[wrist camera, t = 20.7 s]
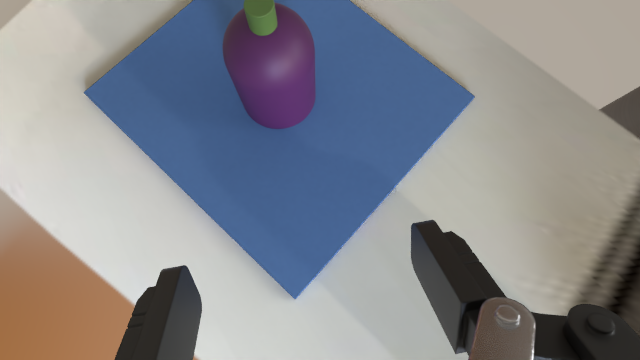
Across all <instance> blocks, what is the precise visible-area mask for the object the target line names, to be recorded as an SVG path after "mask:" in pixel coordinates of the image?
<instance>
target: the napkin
mask: <svg viewBox="0 0 640 360" xmlns="http://www.w3.org/2000/svg"><path fill="white" fill-rule="evenodd" d="M244 1H245V0H193V1H192V2H191V3H190V4H188V5H187V6H186V7H185V8H184V9H182V10H181V11H180V12H179V13H178V14H176V15H175V16H174V17H173V18H172V19H171V20H169V21H168V22H167V23H166V24H165V25H163V26H162V27H161V28H160V29H159V30H157V31H156V32H155V33H154V34H153V35H151V36H150V37H149V38H148V39H147V40H145V41H144V42H143V43H142V44H141V45H140V46H138V47H137V48H136V49H135V50H134V51H132V52H131V53H130V54H129V55H128V56H126V57H125V58H124V59H123V60H122V61H120V62H119V63H118V64H117V65H116V66H115V67H113V68H112V69H111V70H110V71H109V72H107V73H106V74H105V75H104V76H103V77H101V78H100V79H99V80H98V81H97V82H95V83H94V84H93V85H92V86H91V87H89V88H88V89H87V90H86V91H85V92H84V94H85V95H86V96H88V97H89V98H90V99H91V100H92V101H93V102H94V103H95V104H96V105H97V106H98V107H99V108H100V109H101V110H102V111H103V112H104V113H105V114H106V115H107V116H108V117H109V118H110V119H111V120H112V121H113V122H114V123H115V124H116V125H117V126H118V127H119V128H120V129H121V130H122V131H123V132H124V133H125V134H126V135H127V136H128V137H129V138H130V139H131V140H133V141H134V142H135V143H136V144H137V145H138V146H139V147H140V148H141V149H142V150H143V151H144V152H145V153H146V154H147V155H148V156H149V157H150V158H151V159H152V160H153V161H154V162H155V163H156V164H157V165H158V166H159V167H160V168H161V169H162V170H163V171H164V172H165V173H166V174H167V175H168V176H169V177H170V178H171V179H172V180H173V181H174V182H175V183H177V184H178V185H179V186H180V187H181V188H182V189H183V190H184V191H185V192H186V193H187V194H188V195H189V196H190V197H191V198H192V199H193V200H194V201H195V202H196V203H197V204H198V205H199V206H200V207H201V208H202V209H203V210H204V211H205V212H206V213H207V214H208V215H209V216H210V217H211V218H212V219H213V220H214V221H215V222H216V223H217V224H218V225H219V226H220V227H222V228H223V229H224V230H225V231H226V232H227V233H228V234H229V235H230V236H231V237H232V238H233V239H234V240H235V241H236V242H237V243H238V244H239V245H240V246H241V247H242V248H243V249H244V250H245V251H246V252H247V253H248V254H249V255H250V256H251V257H252V258H253V259H254V260H255V261H256V262H257V263H258V264H259V265H260V266H261V267H262V268H263V269H264V270H266V271H267V272H268V273H269V274H270V275H271V276H272V277H273V278H274V279H275V280H276V281H277V282H278V283H279V284H280V285H281V286H282V287H283V288H284V289H285V290H286V291H287V292H288V293H289V294H290V295H291V296H292V297H293V298H294V299H296V298H297V297H298V296H299V295H300V294H301V292H302V291H303V290H304V289H305V288H306V287H307V286H308V285H309V283H310V282H311V281H312V280H313V279H314V278H315V277H316V276H317V274H318V273H319V272H320V271H321V270H322V269H323V268H324V267H325V265H326V264H327V263H328V262H329V261H330V260H331V259H332V258H333V256H334V255H335V254H336V253H337V252H338V251H339V250H340V249H341V247H342V246H343V245H344V244H345V243H346V242H347V241H348V239H349V238H350V237H351V236H352V235H353V234H354V233H355V232H356V230H357V229H358V228H359V227H360V226H361V225H362V224H363V223H364V221H365V220H366V219H367V218H368V217H369V216H370V215H371V214H372V212H373V211H374V210H375V209H376V208H377V207H378V206H379V205H380V203H381V202H382V201H383V200H384V199H385V198H386V197H387V196H388V194H389V193H390V192H391V191H392V190H393V189H394V188H395V187H396V185H397V184H398V183H399V182H400V181H401V180H402V179H403V177H404V176H405V175H406V174H407V173H408V172H409V171H410V170H411V168H412V167H413V166H414V165H415V164H416V163H417V162H418V161H419V159H420V158H421V157H422V156H423V155H424V154H425V153H426V152H427V150H428V149H429V148H430V147H431V146H432V145H433V144H434V143H435V141H436V140H437V139H438V138H439V137H440V136H441V135H442V134H443V132H444V131H445V130H446V129H447V128H448V127H449V126H450V125H451V123H452V122H453V121H454V120H455V119H456V118H457V117H458V116H459V114H460V113H461V112H462V111H463V110H464V109H465V108H466V106H467V105H468V104H469V103H470V102H471V101H472V100H473V99H474V97H475V96H474V95H472V94H471V93H470V92H468V91H467V90H466V89H465V88H463V87H462V86H461V85H459V84H458V83H457V82H455V81H454V80H453V79H451V78H450V77H449V76H448V75H446V74H445V73H444V72H442V71H441V70H440V69H438V68H437V67H436V66H434V65H433V64H432V63H431V62H429V61H428V60H427V59H425V58H424V57H423V56H421V55H420V54H419V53H417V52H416V51H415V50H414V49H412V48H411V47H410V46H408V45H407V44H406V43H404V42H403V41H402V40H400V39H399V38H398V37H397V36H395V35H394V34H393V33H391V32H390V31H389V30H387V29H386V28H385V27H383V26H382V25H381V24H380V23H378V22H377V21H376V20H374V19H373V18H372V17H370V16H369V15H368V14H366V13H365V12H364V11H363V10H361V9H360V8H359V7H357V6H356V5H355V4H353V3H352V2H351V1H350V0H274V2H275V3H279V4H282V5H285V6H287V7H288V8H290V9H292V10H293V11H295V12H296V13H297V14H298V15H299V16H300V17H301V18H302V19H303V20H304V21H305V23H306V24H307V26H308V28H309V29H310V32H311V34H312V37H313V41H314V47H315V89H316V96H315V103H314V106H313V108H312V110H311V112H310V113H309V115H308V116H307V117H306V118H305V119H304V120H303V121H301V122H300V123H298V124H296V125H295V126H292V127H289V128H285V129H272V128H267V127H264V126H262V125H260V124H258V123H256V122H255V121H254V120H253V119H252V118H251V117H250V116H249V115H248V114H247V112H246V110H245V108H244V106H243V104H242V101H241V99H240V97H239V95H238V93H237V90H236V88H235V86H234V84H233V81H232V79H231V77H230V75H229V73H228V70H227V68H226V65H225V62H224V58H223V48H222V46H223V38H224V34H225V31H226V29H227V26H228V24H229V23H230V21H231V20H232V18H233V17H234V16H235V15H236V14H237V13H238V12H239V11H240V10H242V9H243V8H244V7H243V4H244Z"/></svg>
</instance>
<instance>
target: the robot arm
mask: <svg viewBox="0 0 640 360" xmlns="http://www.w3.org/2000/svg"><path fill="white" fill-rule="evenodd" d="M411 259H412V264H413V268H414V271H415V273H416V275H417V277H418V279H419V281H420V283H421V285H422V287H423V289H424V291H425V293H426V295H427V297H428V299H429V301H430V303H431V305H432V307H433V309H434V311H435V313H436V315H437V317H438V319H439V321H440V323H441V325H442V328H443V330H444V332H445V334H446V336H447V338H448V340H449V342H450V344H451V346H452V348H453V350H454V352H455V354H458V353H463V352H467V353H468V355H469V359H468V360H640V337H639V336H638V335H637V334H636V333H635V331H634V330H633V329H632V328H631V327H630V326H629V325H628V324H627V323H626V322H625V321H624V320H623V319H622V318H621V317H619V316H618V315H617V314H615V313H613V312H612V311H610V310H608V309H605V308H603V307H600V306H596V305H591V304H580V305H576V306H574V307H573V308H571V309H570V311H569V313H568V315H567V316H559V315H548V314H538V313H533V312H530V311H529V310H528V309H527V308H526V307H525V306H524V305H522V304H521V303H519V302H517V301H515V300H512V299H509V298H507V297H506V296H505V295H504V293H503V292H502V291H501V289H500V288H499V287H498V285H497V284H496V282H495V281H494V280H493V278H492V277H491V276H490V274H489V273H488V272H487V270H486V269H485V268H484V266H483V265H482V263H481V262H479V259H478V258H477V257H476V255H475V254H474V253H472V250H471V249H470V247H469V246H468V244H467V243H466V242H465V240H464V239H462V238H461V237H459V236H458V235H456V234H455V233H453V232H452V231H450V232H445V233H443V232H442V231H441V229H440V228H439V226H438V225H437V223H436V222H435V221H434V220H429V221H424V222H419V223H413V224H412V226H411ZM201 313H202V303H201V297H200V294H199V292H198V290H197V287H196V285H195V283H194V281H193V278H192V276H191V274H190V271H189V269H188V268H187V266H185V265H184V266H178V267H173V268H168V269H163V270H162V271H161V273H160V275H159V278H158V281H157V284H156V286H154V287H149V288H147V290H146V291H145V292H144V293H143V295H142V296H141V297H140V298H139V299H138V301H137V303H136V305H135V308H134V311H133V313H132V318H131V319H130V321H129V324H128V326H127V327H128V329H126V332H125V334H124V336H123V339H122V342H121V344H120V347H119V349H118V352H117V355H116V357H115V360H193V356H194V350H195V345H196V340H197V334H198V329H199V324H200V318H201Z"/></svg>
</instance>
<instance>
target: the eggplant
mask: <svg viewBox="0 0 640 360" xmlns="http://www.w3.org/2000/svg"><path fill="white" fill-rule="evenodd" d="M243 7H244V8H243V9H242V10H240V11H239V12H238V13H237V14H236V15H235V16H234V17H233V18H232V20H231V21H230V23H229V24H228V26H227V29H226V31H225V34H224V38H223V46H222V48H223V58H224V62H225V65H226V68H227V70H228V73H229V75H230V77H231V79H232V81H233V84H234V86H235V88H236V90H237V93H238V95H239V97H240V99H241V101H242V104H243V106H244V108H245V110H246V112H247V114H248V115H249V116H250V117H251V118H252V119H253V120H254V121H255V122H256V123H258V124H260V125H262V126H264V127H267V128H272V129H285V128H289V127H292V126H295V125H296V124H298V123H300V122H301V121H303V120H304V119H305V118H306V117H307V116H308V115H309V113H310V112H311V110H312V108H313V106H314V103H315V96H316V89H315V47H314V41H313V37H312V34H311V32H310V29H309V28H308V26H307V24H306V23H305V21H304V20H303V19H302V18H301V17H300V16H299V15H298V14H297V13H296V12H295V11H293V10H292V9H290V8H288V7H287V6H285V5H282V4H279V3H275V2H274V0H245V1H244V4H243Z"/></svg>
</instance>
